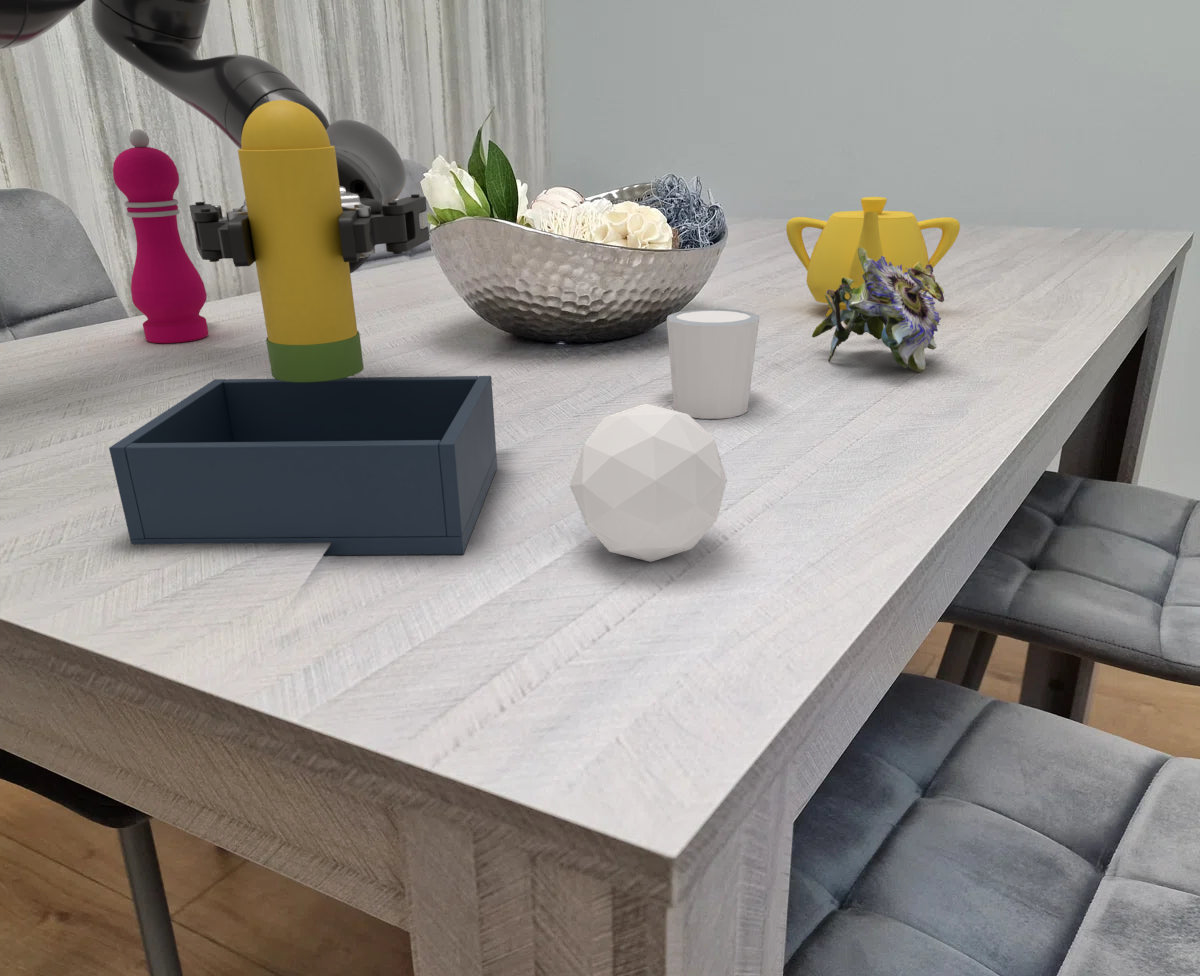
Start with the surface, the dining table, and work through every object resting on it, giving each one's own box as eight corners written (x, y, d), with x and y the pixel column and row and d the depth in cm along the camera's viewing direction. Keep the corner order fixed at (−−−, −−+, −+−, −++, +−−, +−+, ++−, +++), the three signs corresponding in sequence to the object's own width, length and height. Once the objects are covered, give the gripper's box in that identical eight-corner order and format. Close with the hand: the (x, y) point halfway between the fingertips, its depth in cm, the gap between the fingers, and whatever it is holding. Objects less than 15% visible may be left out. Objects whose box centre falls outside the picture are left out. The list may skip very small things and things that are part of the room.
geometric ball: (666, 583, 57) (739, 456, 57) (682, 594, 49) (767, 446, 49) (545, 514, 57) (618, 386, 56) (543, 514, 49) (627, 364, 48)
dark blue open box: (133, 556, 55) (108, 447, 53) (230, 469, 68) (214, 379, 66) (463, 554, 54) (454, 443, 52) (497, 467, 68) (491, 375, 65)
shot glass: (679, 395, 83) (680, 305, 80) (764, 400, 81) (768, 309, 78) (654, 417, 78) (654, 321, 75) (745, 424, 75) (749, 326, 72)
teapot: (770, 311, 116) (775, 198, 111) (862, 297, 123) (871, 190, 118) (861, 330, 106) (871, 205, 101) (956, 313, 113) (970, 196, 107)
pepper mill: (161, 347, 105) (117, 130, 96) (128, 339, 109) (83, 130, 101) (226, 336, 110) (190, 128, 101) (192, 328, 114) (155, 128, 106)
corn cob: (259, 383, 56) (212, 101, 50) (287, 361, 60) (247, 100, 55) (351, 382, 56) (315, 98, 50) (372, 360, 60) (341, 98, 54)
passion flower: (907, 431, 92) (929, 336, 81) (789, 398, 95) (796, 303, 84) (944, 339, 96) (970, 238, 86) (830, 311, 99) (842, 209, 89)
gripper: (439, 266, 70) (441, 311, 55) (220, 275, 69) (160, 325, 53) (429, 145, 67) (428, 157, 52) (199, 151, 65) (128, 167, 50)
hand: (292, 242), depth 53 cm, fingers closed on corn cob, 5 cm apart
